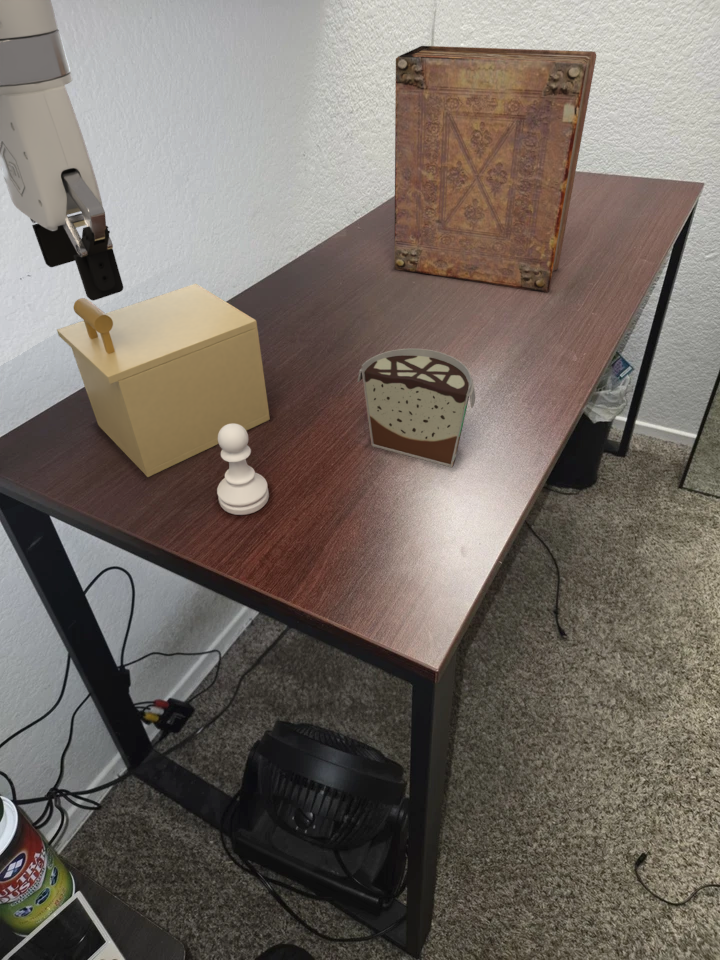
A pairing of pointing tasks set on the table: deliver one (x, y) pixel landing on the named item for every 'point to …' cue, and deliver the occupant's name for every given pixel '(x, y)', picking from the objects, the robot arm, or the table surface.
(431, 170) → the book
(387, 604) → the table surface
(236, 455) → the chess pawn
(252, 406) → the light wooden open box
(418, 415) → the food container
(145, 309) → the lid
